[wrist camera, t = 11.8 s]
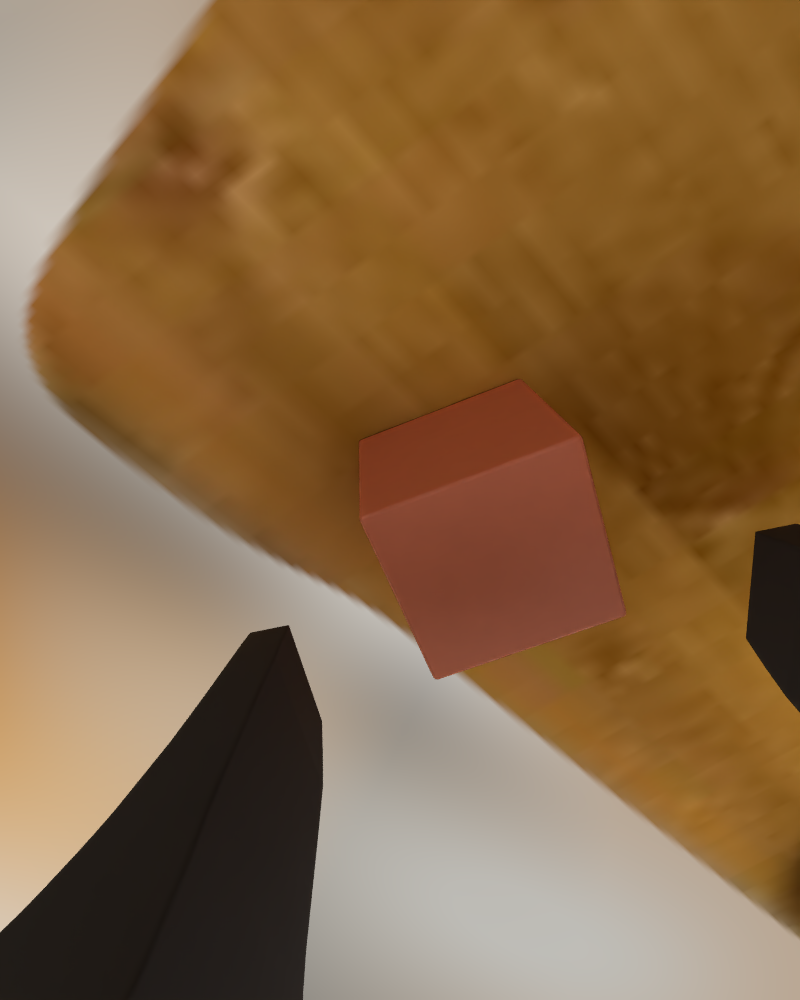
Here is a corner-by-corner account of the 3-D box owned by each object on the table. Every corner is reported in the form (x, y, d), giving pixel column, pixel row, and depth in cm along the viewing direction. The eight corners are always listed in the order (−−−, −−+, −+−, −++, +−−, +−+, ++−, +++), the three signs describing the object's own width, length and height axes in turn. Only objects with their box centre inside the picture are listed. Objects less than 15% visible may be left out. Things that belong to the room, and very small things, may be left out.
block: (562, 521, 15) (628, 617, 11) (416, 573, 15) (434, 682, 12) (520, 376, 13) (582, 434, 10) (357, 440, 14) (357, 518, 10)
